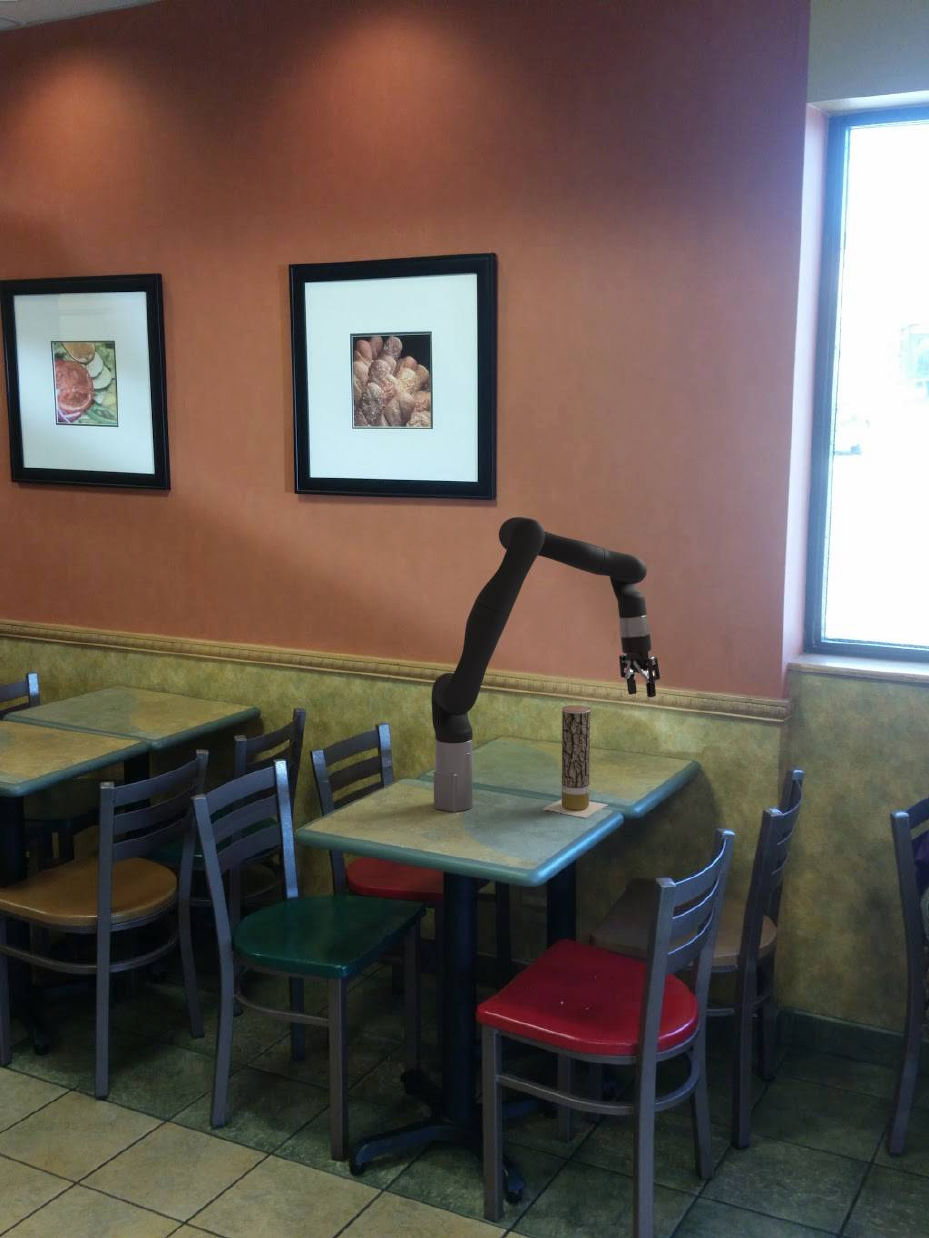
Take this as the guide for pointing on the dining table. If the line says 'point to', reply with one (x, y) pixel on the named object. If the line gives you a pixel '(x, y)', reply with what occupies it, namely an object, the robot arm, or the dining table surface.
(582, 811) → the card
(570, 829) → the dining table surface
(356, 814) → the dining table surface
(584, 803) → the brown bark cylinder
